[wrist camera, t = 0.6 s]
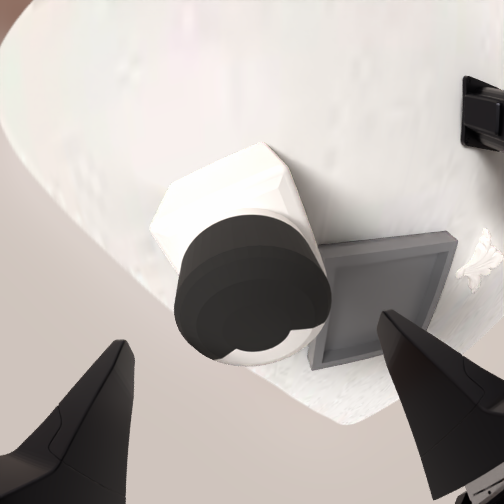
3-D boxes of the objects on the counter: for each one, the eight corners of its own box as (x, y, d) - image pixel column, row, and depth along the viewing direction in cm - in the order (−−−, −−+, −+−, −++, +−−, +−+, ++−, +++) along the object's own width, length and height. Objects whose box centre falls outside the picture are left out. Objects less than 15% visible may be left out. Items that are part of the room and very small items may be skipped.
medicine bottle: (168, 183, 19) (116, 294, 9) (264, 139, 18) (325, 203, 8) (213, 262, 23) (215, 398, 12) (299, 226, 22) (363, 346, 12)
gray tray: (446, 230, 24) (458, 240, 22) (413, 332, 31) (420, 343, 29) (316, 245, 23) (324, 258, 21) (307, 356, 30) (311, 370, 28)
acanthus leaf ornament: (480, 224, 25) (491, 232, 23) (499, 244, 27) (508, 251, 25) (447, 278, 28) (456, 287, 26) (470, 290, 30) (478, 299, 28)
